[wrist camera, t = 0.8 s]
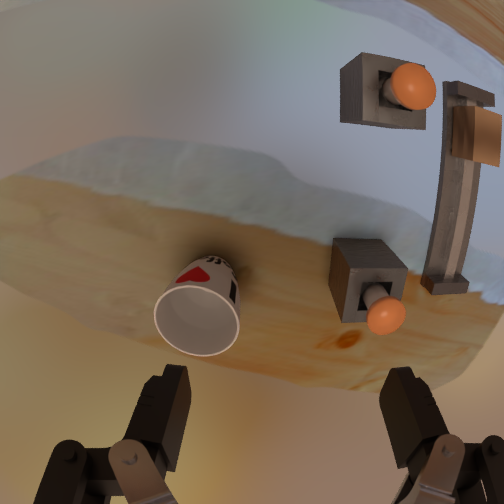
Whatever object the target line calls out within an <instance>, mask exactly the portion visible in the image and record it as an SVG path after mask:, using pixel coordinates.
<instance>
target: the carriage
mask: <svg viewBox="0 0 504 504" xmlns="http://www.w3.org/2000/svg"><path fill="white" fill-rule="evenodd" d="M501 129H502V115H499V114H497V113H494V112H491V111H488V110H486V109H483V108H480V107H477V106H453V141H452V156H454V157H458V158H463V159H467V160H471V161H475V162H479V163H484V164H488V165H492V166H496V167H499V164H500V150H501V131H502V130H501Z"/></svg>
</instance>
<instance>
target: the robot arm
mask: <svg viewBox="0 0 504 504" xmlns="http://www.w3.org/2000/svg"><path fill="white" fill-rule="evenodd" d="M140 395H141V396H140V397H139V400H138V402H137V405H136V407H135V410H134V412H133V415H132V417H131V420H130V423H129V425H128V428H127V431H126V433H125V436H124V437H123V439H122V440H121V441H119V442H117V443H115V444H114V445H113V446H112V447H108V448H84V446H83V445H82V444H81V443H79V442H78V441H74V440H64V441H62V442H60V443H58V444H57V445H56V446H55V448H54V450H53V452H52V454H51V457H50V459H49V462H48V465H47V467H46V470H45V472H44V475H43V478H42V480H41V483H40V486H39V488H38V491H37V494H36V497H35V500H34V503H33V504H110V500H111V496H125V498H126V500H127V502H128V504H178V503H177V501H176V500H175V498H174V497H173V495H172V493H171V491H170V490H169V488H168V487H167V485H166V483H165V481H164V479H165V476H166V471H171V472H175V469H176V464H177V460H178V456H179V452H180V447H181V443H182V439H183V434H184V430H185V426H186V421H187V417H188V413H189V409H190V405H191V387H190V382H189V376H188V370H187V367H186V366H181V365H172V364H167V365H166V367H165V369H164V372H163V375H162V376H155V375H153V376H152V377H151V378H150V379H149V380H148V381H147V382H146V383H145V384H144V387H143V389H142V392H141V394H140ZM379 403H380V408H381V411H382V414H383V418H384V421H385V424H386V428H387V431H388V435H389V438H390V442H391V445H392V449H393V452H394V456H395V460H396V463H397V467H398V469H400V468H405V467H408V471H409V472H408V473H407V475H406V477H405V478H404V480H403V482H402V484H401V486H400V489H399V490H398V492H397V494H396V496H395V498H394V500H393V501H392V503H391V504H504V440H503V439H502V438H501V437H499V436H495V435H491V436H488V437H487V438H486V439H485V440H484V441H483V442H482V443H463V441H462V440H461V439H460V438H459V437H457V436H455V435H452V434H450V433H449V431H448V430H447V427H446V424H445V422H444V420H443V417H442V415H441V413H440V411H439V408H438V406H437V405H436V402H435V399H434V397H432V393H431V391H430V389H429V387H428V385H427V384H426V383H425V382H424V381H423V380H422V379H421V378H420V377H419V378H415V376H414V373H413V371H412V369H411V368H410V367H398V368H392V369H391V370H390V371H389V374H388V376H387V378H386V381H385V383H384V385H383V387H382V390H381V392H380V397H379ZM481 480H482V482H483V485H484V489H485V492H486V496H487V502H486V498H485V494H484V490H483V487H482V483H481Z"/></svg>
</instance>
